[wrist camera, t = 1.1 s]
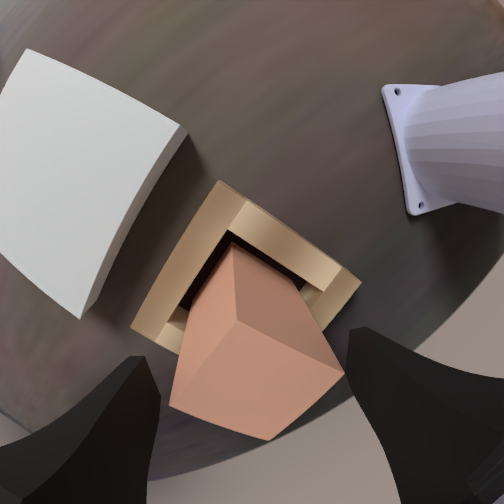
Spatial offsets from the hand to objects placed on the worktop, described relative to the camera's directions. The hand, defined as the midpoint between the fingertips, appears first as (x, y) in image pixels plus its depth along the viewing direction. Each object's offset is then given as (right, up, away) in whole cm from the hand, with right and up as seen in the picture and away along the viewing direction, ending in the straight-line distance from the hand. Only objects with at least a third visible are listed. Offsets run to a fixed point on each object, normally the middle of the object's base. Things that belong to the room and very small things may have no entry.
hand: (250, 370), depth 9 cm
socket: (0, +2, +6) cm, 7 cm away
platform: (-11, +9, +3) cm, 15 cm away
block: (0, +2, +6) cm, 7 cm away
